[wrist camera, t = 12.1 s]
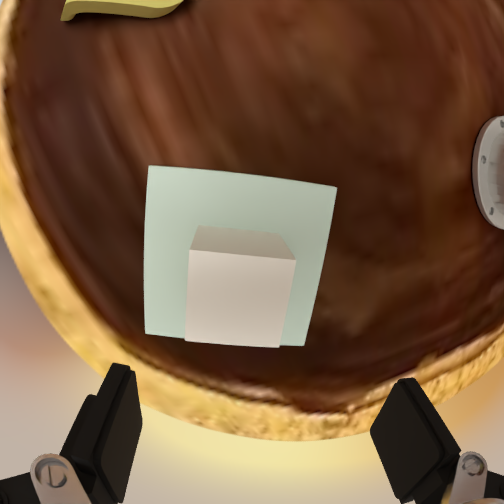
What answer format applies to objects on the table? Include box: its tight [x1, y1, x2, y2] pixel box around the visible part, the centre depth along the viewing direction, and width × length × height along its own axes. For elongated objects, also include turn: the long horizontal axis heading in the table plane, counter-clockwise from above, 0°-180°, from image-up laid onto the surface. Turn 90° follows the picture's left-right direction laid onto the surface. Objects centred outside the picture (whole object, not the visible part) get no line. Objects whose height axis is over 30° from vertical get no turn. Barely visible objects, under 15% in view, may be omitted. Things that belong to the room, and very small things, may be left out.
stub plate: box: [144, 165, 337, 346], centre depth 23 cm, size 14×14×4 cm
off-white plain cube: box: [185, 225, 296, 347], centre depth 21 cm, size 6×6×6 cm
